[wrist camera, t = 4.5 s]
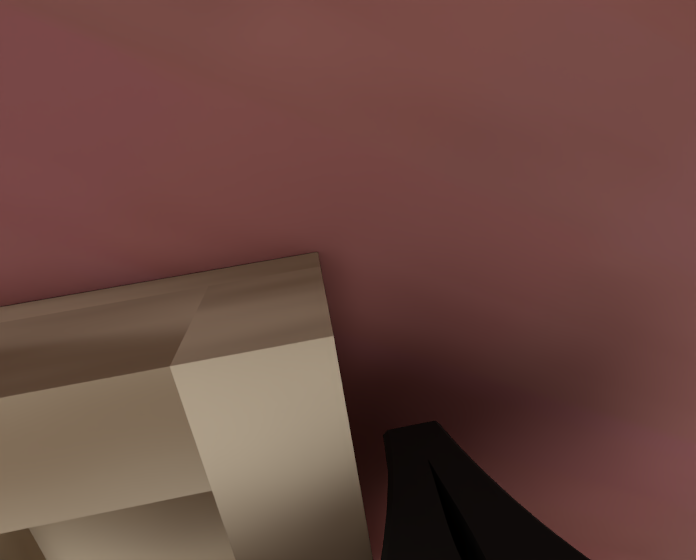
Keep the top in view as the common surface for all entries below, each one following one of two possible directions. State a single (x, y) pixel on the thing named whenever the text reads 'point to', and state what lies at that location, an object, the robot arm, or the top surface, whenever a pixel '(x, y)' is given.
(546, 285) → the top surface
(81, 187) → the top surface
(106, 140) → the top surface
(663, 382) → the top surface
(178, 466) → the socket block
